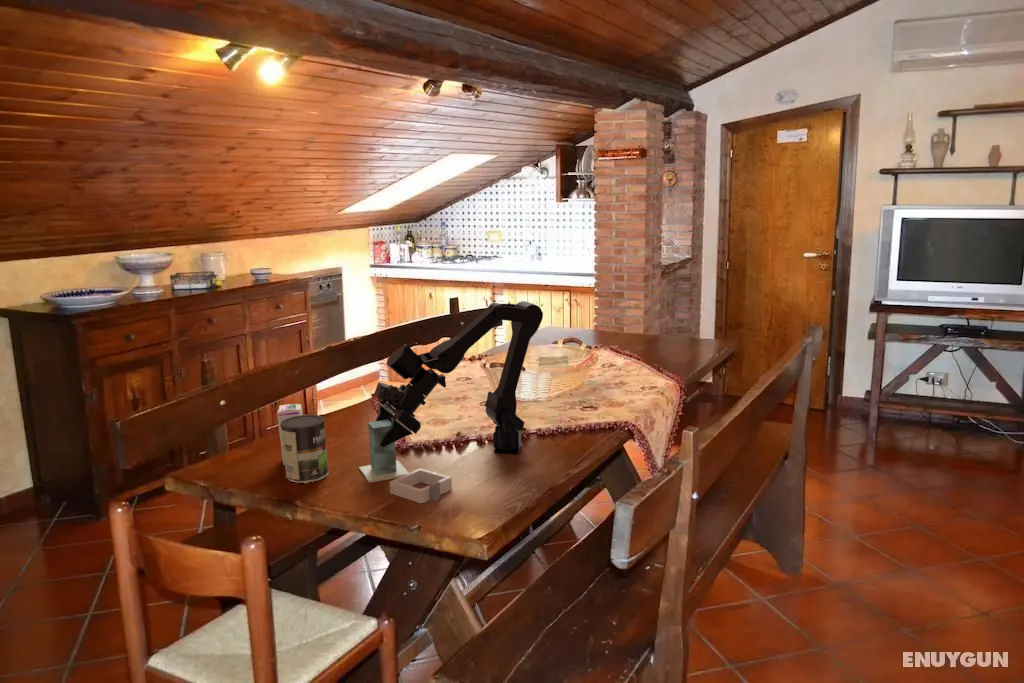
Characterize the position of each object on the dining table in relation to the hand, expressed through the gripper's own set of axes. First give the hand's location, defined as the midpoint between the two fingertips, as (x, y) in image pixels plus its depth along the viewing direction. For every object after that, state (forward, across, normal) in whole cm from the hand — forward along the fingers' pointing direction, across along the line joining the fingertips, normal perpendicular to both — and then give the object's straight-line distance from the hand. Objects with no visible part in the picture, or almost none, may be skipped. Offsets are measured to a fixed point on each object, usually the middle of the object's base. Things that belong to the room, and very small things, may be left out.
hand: (376, 440), depth 192 cm
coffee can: (+18, -7, -5) cm, 20 cm away
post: (+5, 0, +7) cm, 8 cm away
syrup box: (+18, -19, -6) cm, 27 cm away
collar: (+2, +16, +10) cm, 19 cm away
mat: (+5, 0, +7) cm, 9 cm away
